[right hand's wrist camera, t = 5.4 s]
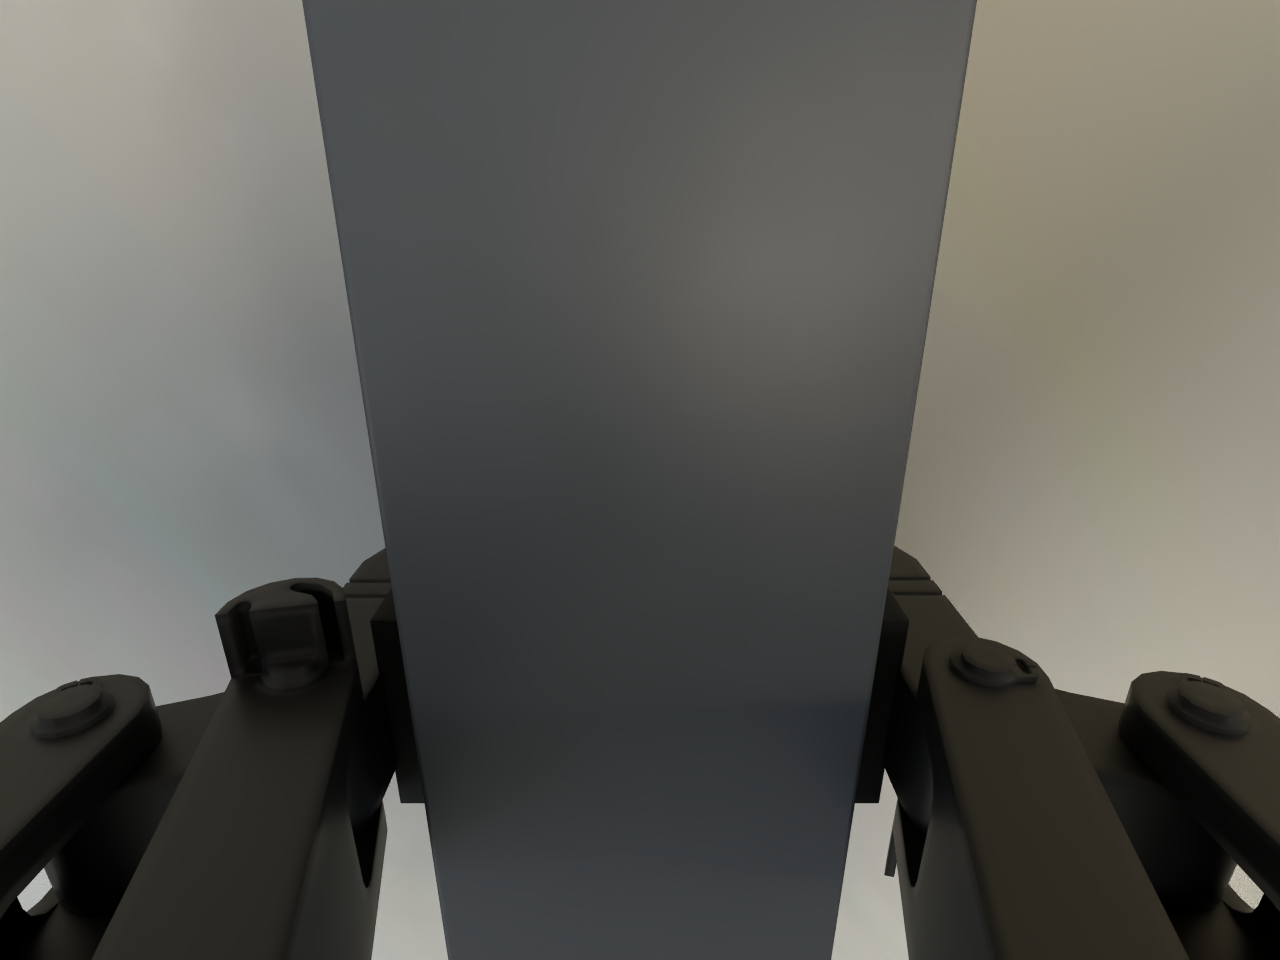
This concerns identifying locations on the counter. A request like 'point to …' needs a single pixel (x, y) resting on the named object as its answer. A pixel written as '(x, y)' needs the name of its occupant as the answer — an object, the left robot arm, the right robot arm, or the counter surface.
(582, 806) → the beam
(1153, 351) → the counter surface
